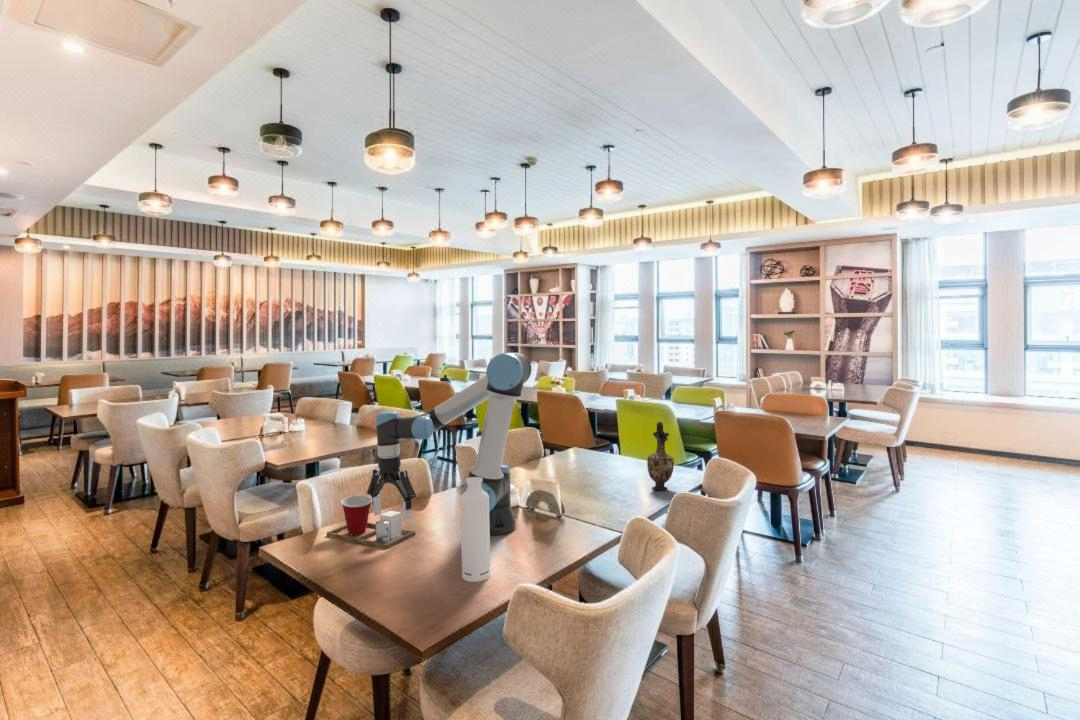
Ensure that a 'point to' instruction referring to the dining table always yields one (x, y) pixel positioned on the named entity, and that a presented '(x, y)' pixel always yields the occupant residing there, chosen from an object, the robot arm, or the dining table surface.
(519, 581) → the dining table surface
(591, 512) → the dining table surface
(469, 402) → the robot arm
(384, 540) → the silvery rounded piece
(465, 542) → the bottle
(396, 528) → the sugar box
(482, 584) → the dining table surface
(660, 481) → the vase
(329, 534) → the holder frame
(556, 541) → the dining table surface
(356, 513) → the plastic cup
